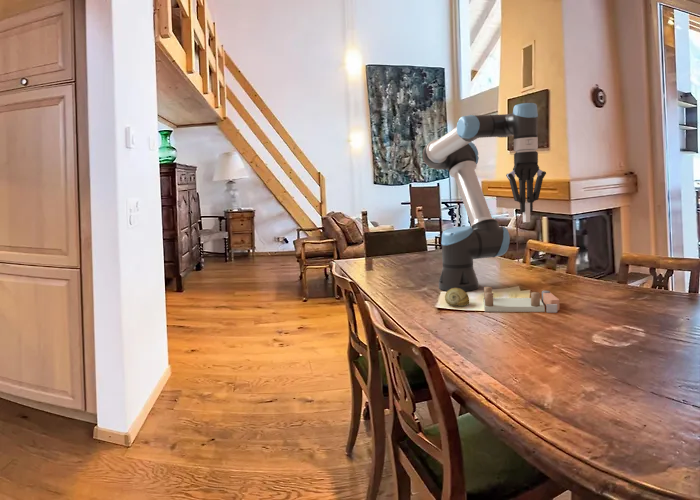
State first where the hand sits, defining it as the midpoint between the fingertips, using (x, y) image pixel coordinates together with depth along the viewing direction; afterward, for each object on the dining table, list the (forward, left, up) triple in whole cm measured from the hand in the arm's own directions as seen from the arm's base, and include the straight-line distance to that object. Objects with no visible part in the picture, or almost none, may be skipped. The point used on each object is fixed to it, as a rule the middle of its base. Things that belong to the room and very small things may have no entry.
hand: (526, 221), depth 165 cm
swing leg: (+10, -8, -26) cm, 29 cm away
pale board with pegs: (+2, -14, -26) cm, 30 cm away
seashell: (-18, -18, -27) cm, 37 cm away
